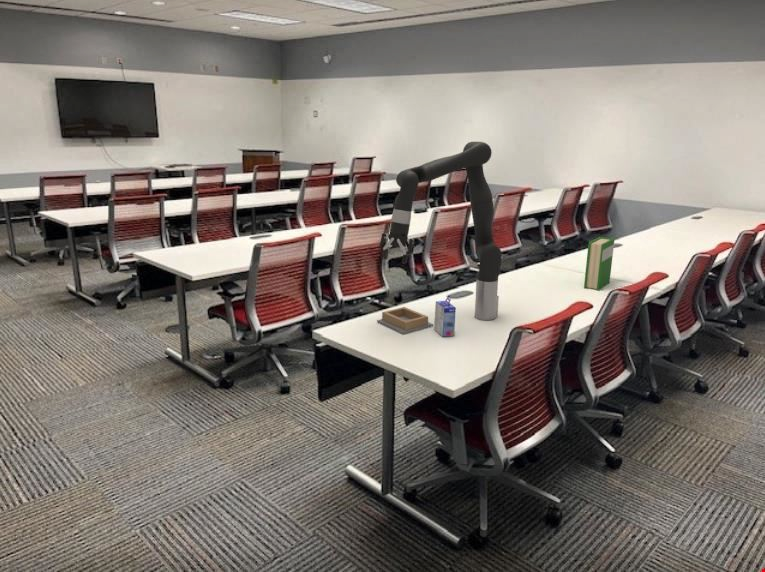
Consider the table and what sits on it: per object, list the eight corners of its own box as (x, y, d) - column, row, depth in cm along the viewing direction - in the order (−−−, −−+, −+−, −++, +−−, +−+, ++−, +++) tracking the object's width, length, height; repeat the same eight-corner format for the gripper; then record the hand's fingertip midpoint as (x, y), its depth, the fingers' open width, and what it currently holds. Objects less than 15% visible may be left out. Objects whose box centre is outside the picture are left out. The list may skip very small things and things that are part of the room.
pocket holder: (406, 314, 254) (406, 305, 252) (433, 326, 240) (433, 316, 239) (377, 322, 244) (377, 312, 243) (403, 334, 231) (403, 324, 229)
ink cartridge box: (455, 336, 229) (456, 301, 225) (442, 337, 228) (443, 303, 224) (446, 327, 238) (447, 294, 234) (433, 329, 237) (434, 295, 233)
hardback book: (598, 290, 288) (603, 244, 281) (583, 288, 293) (588, 242, 286) (609, 283, 302) (614, 238, 295) (595, 280, 306) (600, 236, 299)
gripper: (420, 224, 227) (414, 264, 230) (389, 218, 233) (383, 257, 236) (412, 224, 220) (405, 265, 223) (380, 218, 227) (374, 258, 230)
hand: (394, 261), depth 230 cm, fingers open, 8 cm apart
